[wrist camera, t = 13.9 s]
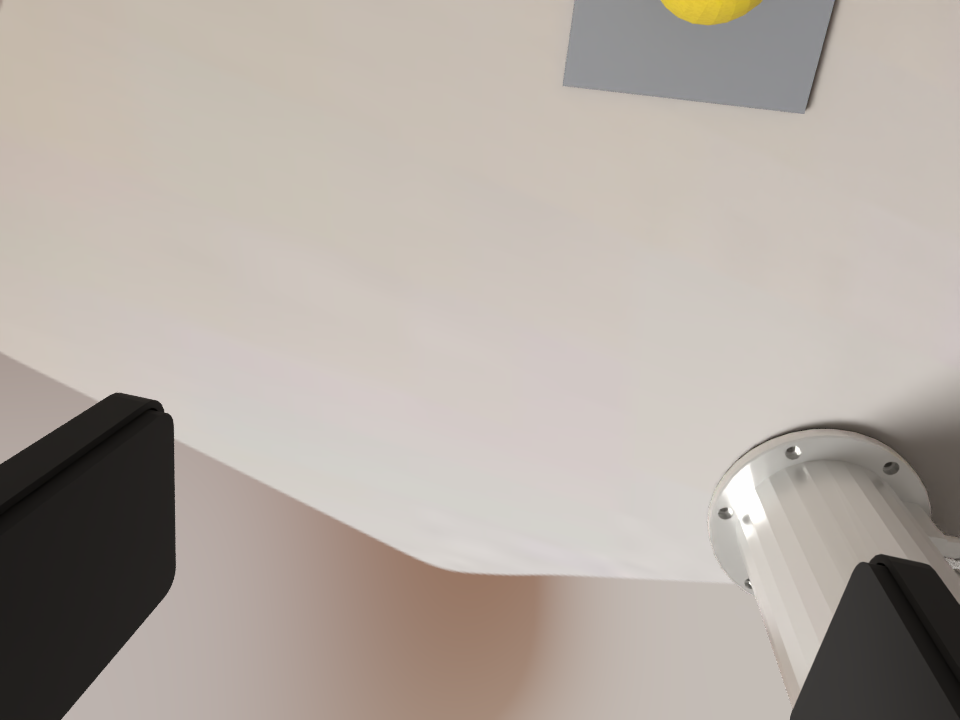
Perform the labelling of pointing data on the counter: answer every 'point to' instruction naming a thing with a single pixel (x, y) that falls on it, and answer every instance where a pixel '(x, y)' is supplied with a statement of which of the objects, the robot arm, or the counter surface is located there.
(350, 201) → the counter surface
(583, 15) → the grey mat
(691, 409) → the counter surface
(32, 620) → the robot arm
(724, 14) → the lemon
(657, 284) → the counter surface
